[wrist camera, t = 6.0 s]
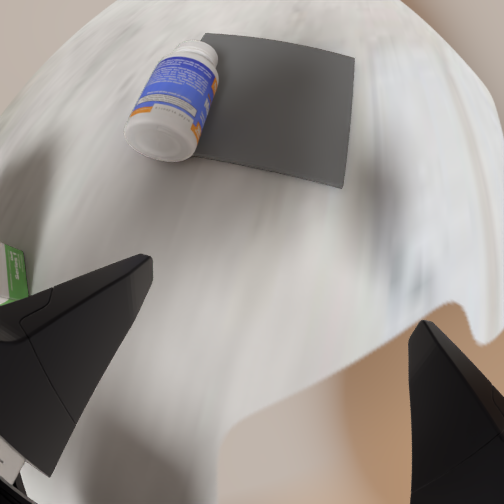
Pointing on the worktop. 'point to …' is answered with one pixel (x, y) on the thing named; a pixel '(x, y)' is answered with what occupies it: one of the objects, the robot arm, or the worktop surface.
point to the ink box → (12, 275)
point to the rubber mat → (279, 108)
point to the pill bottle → (174, 103)
